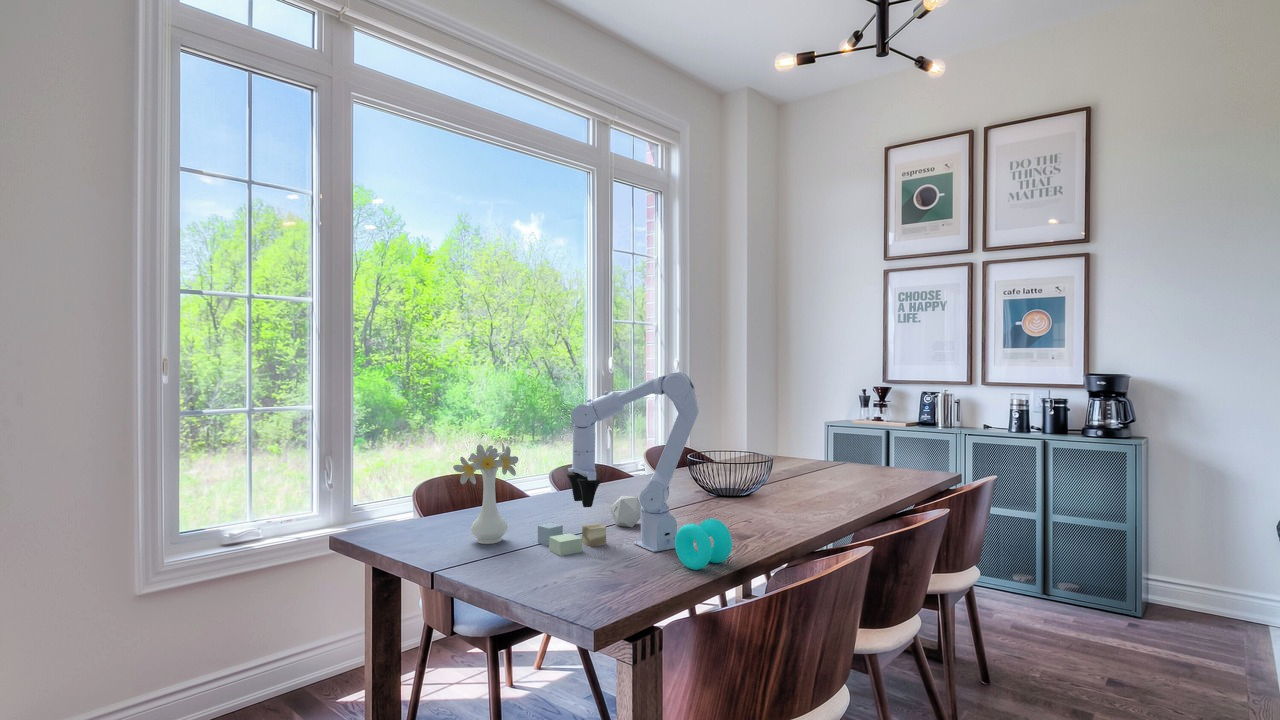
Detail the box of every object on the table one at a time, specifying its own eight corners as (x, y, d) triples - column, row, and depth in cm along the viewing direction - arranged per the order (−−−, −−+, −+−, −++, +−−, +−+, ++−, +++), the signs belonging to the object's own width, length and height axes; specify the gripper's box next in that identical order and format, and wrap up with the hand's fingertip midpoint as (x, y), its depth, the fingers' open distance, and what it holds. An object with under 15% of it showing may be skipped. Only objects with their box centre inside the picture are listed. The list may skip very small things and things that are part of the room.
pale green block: (582, 552, 163) (582, 538, 163) (560, 556, 159) (560, 541, 159) (570, 547, 168) (570, 533, 168) (549, 550, 164) (549, 536, 164)
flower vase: (447, 549, 165) (446, 448, 165) (485, 531, 183) (485, 440, 183) (493, 553, 161) (493, 450, 161) (528, 535, 179) (528, 441, 179)
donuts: (734, 565, 151) (734, 521, 151) (705, 575, 144) (705, 529, 144) (701, 556, 158) (701, 514, 158) (672, 565, 151) (672, 521, 151)
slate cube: (562, 542, 171) (562, 525, 171) (549, 546, 168) (549, 528, 168) (551, 539, 174) (551, 522, 174) (537, 543, 171) (537, 525, 171)
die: (612, 523, 194) (601, 499, 189) (638, 506, 196) (627, 482, 191) (626, 540, 187) (614, 516, 182) (652, 522, 190) (641, 498, 184)
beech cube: (606, 544, 169) (606, 526, 169) (590, 547, 167) (590, 529, 167) (597, 540, 173) (597, 523, 173) (582, 543, 171) (582, 525, 171)
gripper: (561, 447, 176) (560, 499, 176) (577, 455, 163) (576, 510, 163) (586, 446, 179) (585, 497, 179) (604, 454, 166) (603, 508, 166)
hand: (582, 503), depth 171 cm, fingers open, 7 cm apart
